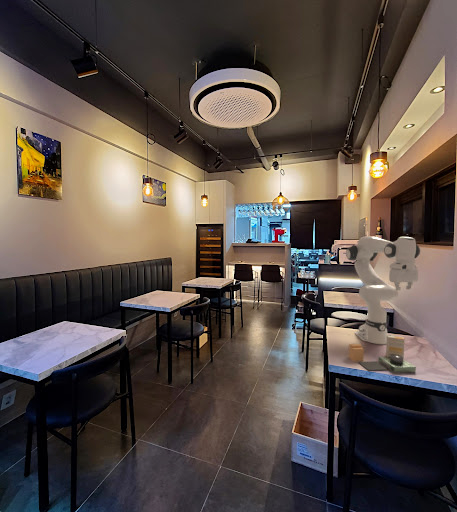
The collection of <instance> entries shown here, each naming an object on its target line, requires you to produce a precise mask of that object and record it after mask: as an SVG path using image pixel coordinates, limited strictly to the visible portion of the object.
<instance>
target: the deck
mask: <svg viewBox="0 0 457 512" xmlns="http://www.w3.org/2000/svg"><path fill="white" fill-rule="evenodd" d="M377 360H378V361H377V362H378V363H380V364H381V365H383V366H384V367H385V368H387V369H388V371H390V372H392V373H394V374H401V373H403V374H405V373H407V374H408V373H411V374H412V373H416V370H417V368H416V367H417V366H415V365H414V364H412V363H410V362H408V361H407V360H405V358H404V359H403V357H402V356H401V355H398V354H390V357H387V356H378V359H377Z"/></svg>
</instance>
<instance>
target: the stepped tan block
mask: <svg viewBox="0 0 457 512" xmlns="http://www.w3.org/2000/svg"><path fill="white" fill-rule="evenodd" d="M348 347H349V348H348V358H349V359H350V360H351V361H353V362H364V351H365V348H363V347H362V345H361V344H359V343H349V346H348Z"/></svg>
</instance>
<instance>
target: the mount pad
mask: <svg viewBox="0 0 457 512" xmlns="http://www.w3.org/2000/svg"><path fill="white" fill-rule="evenodd" d="M357 364H359V365H360V366H361V367H363V368H364V369H366V370H367V371H368V372H377V371H379V372H382V371H383V372H385V371H389V369H388V368H386V367H385V366H384V365H382V364H381V363H379V362H378V361H377V360H375V361H373V360H371V361H357Z"/></svg>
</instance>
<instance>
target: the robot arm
mask: <svg viewBox="0 0 457 512" xmlns="http://www.w3.org/2000/svg"><path fill="white" fill-rule="evenodd" d="M378 253H380V254H381V253H384V255H385V257H386V258H388V259H392V260H393V259H395V262H393V263H391V264H389V269H390V270H389V276H388V280H389V282H390V283H393V284H394V286H393V285H390V284H389V283H387V282H386V281H384V279H382V278H381V277H380V276H379V275H378V274H377V272H376V270H374V268H373V266H372V264H371V263H370V262H373V261H374V260H375V258H377V256H378ZM420 253H421V248H420V246H419V244H417V242H416V239H415V238H413V237H409V236H400V237H398V238H397V240H395V241H390V240H386V239H383V238H379V237H376V236H370V235H366V236H362V237H360V238H359V239H358V242H357V244H356V245H355V244H352V245H351V246H349V247H348V248H347V249H346V250H345V257H346V258H347V259H348V260H349V261H355V262H354V269H355V272H356V273H357V275H358V278H360V279H359V280H360V281H361V283H362V284H363V285H364V286H361V287H360V288H359V290H358V293H359V294H358V295H359V297H360V299H362V300H363V301H364V303H365V305H366V307H367V318H366V319H365V323H364V324H362V325H360V326H359V327H358V331H354V334H355V336H357V337H358V338H359V339H360V340H362V341H363V342H368V343H372V344H376V345H386V343H387V335H388V329H387V325H388V322H387V313H388V311H387V310H386V309H385V308H384V307H383V306H381V302H390V301H394V300H396V299H397V298H398V296H399V292H398V291H401V287H400V283H407V285H406V290H412V286H413V284H414V282H418V280H419V271H418V269H417V267H416V265H415V264H416V259H417V258H418V257H419V255H420Z"/></svg>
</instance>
